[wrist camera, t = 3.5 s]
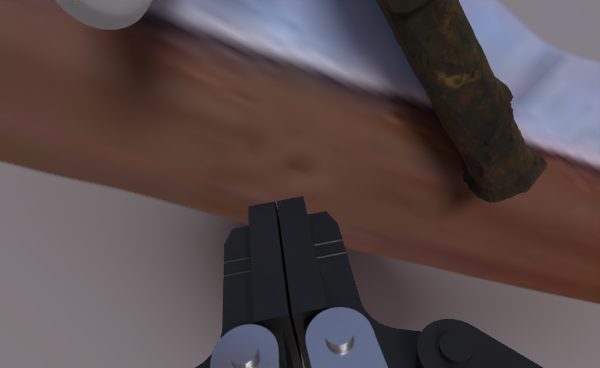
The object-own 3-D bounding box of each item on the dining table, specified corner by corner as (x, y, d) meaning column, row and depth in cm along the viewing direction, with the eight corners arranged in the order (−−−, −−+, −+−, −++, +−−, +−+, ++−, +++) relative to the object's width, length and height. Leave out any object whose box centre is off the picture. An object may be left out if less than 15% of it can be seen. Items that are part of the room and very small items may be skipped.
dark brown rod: (519, 140, 25) (567, 186, 21) (458, 174, 26) (495, 223, 22) (382, -222, 15) (431, -254, 11) (291, -142, 16) (307, -147, 12)
